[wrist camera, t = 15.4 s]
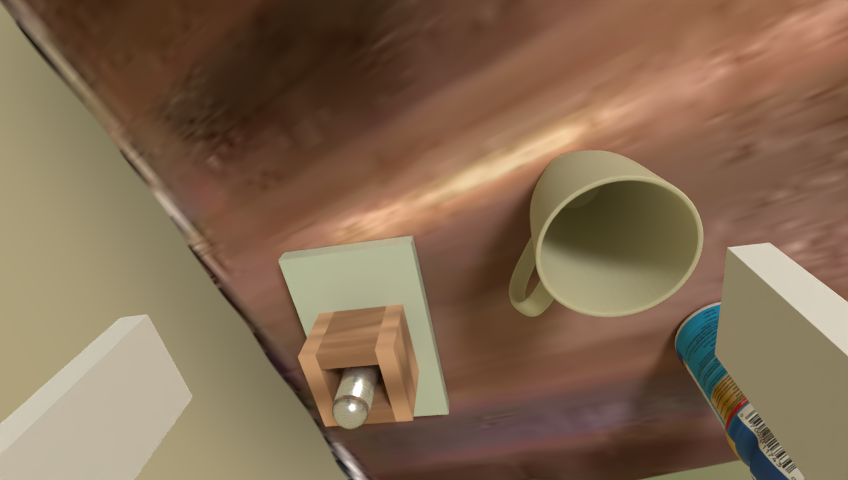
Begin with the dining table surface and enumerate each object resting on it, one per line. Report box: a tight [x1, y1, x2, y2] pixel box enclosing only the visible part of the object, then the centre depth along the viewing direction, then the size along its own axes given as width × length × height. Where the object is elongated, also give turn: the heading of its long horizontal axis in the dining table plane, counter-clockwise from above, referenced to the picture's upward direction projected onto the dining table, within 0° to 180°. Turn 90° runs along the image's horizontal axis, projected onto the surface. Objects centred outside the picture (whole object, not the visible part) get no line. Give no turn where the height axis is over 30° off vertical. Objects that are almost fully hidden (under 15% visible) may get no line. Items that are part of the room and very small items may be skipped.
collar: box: [298, 304, 419, 427], centre depth 41 cm, size 8×8×6 cm
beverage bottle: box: [675, 302, 806, 480], centre depth 32 cm, size 8×8×20 cm
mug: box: [509, 150, 703, 317], centre depth 31 cm, size 11×10×12 cm
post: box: [332, 364, 380, 429], centre depth 39 cm, size 3×3×10 cm
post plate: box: [278, 236, 449, 416], centre depth 44 cm, size 20×12×2 cm, turn 11°
